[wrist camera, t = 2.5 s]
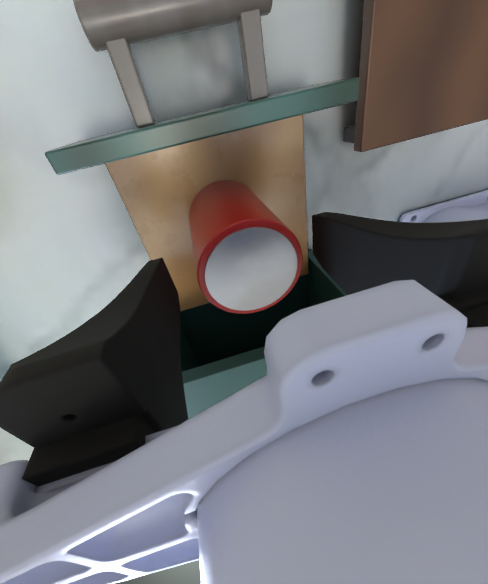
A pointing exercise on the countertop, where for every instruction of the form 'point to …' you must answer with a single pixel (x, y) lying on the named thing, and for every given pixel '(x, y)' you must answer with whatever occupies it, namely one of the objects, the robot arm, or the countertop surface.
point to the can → (241, 249)
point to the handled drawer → (198, 131)
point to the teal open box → (239, 340)
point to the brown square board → (420, 70)
